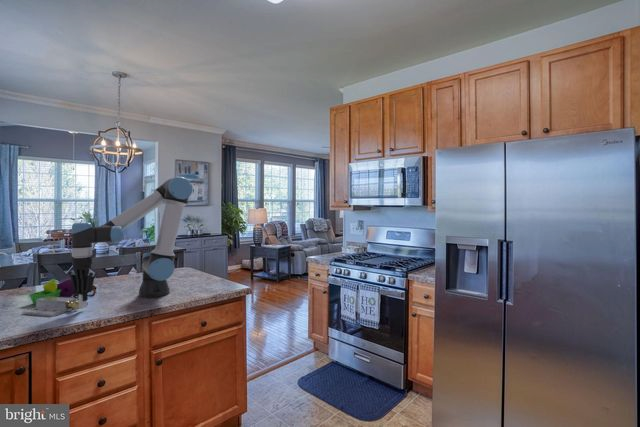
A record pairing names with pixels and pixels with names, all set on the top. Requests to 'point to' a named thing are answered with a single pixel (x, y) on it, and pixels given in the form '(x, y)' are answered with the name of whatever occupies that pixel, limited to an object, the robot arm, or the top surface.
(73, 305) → the pin
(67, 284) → the mounting bracket
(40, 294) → the fruit basket
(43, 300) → the hinge
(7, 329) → the top surface
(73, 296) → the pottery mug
